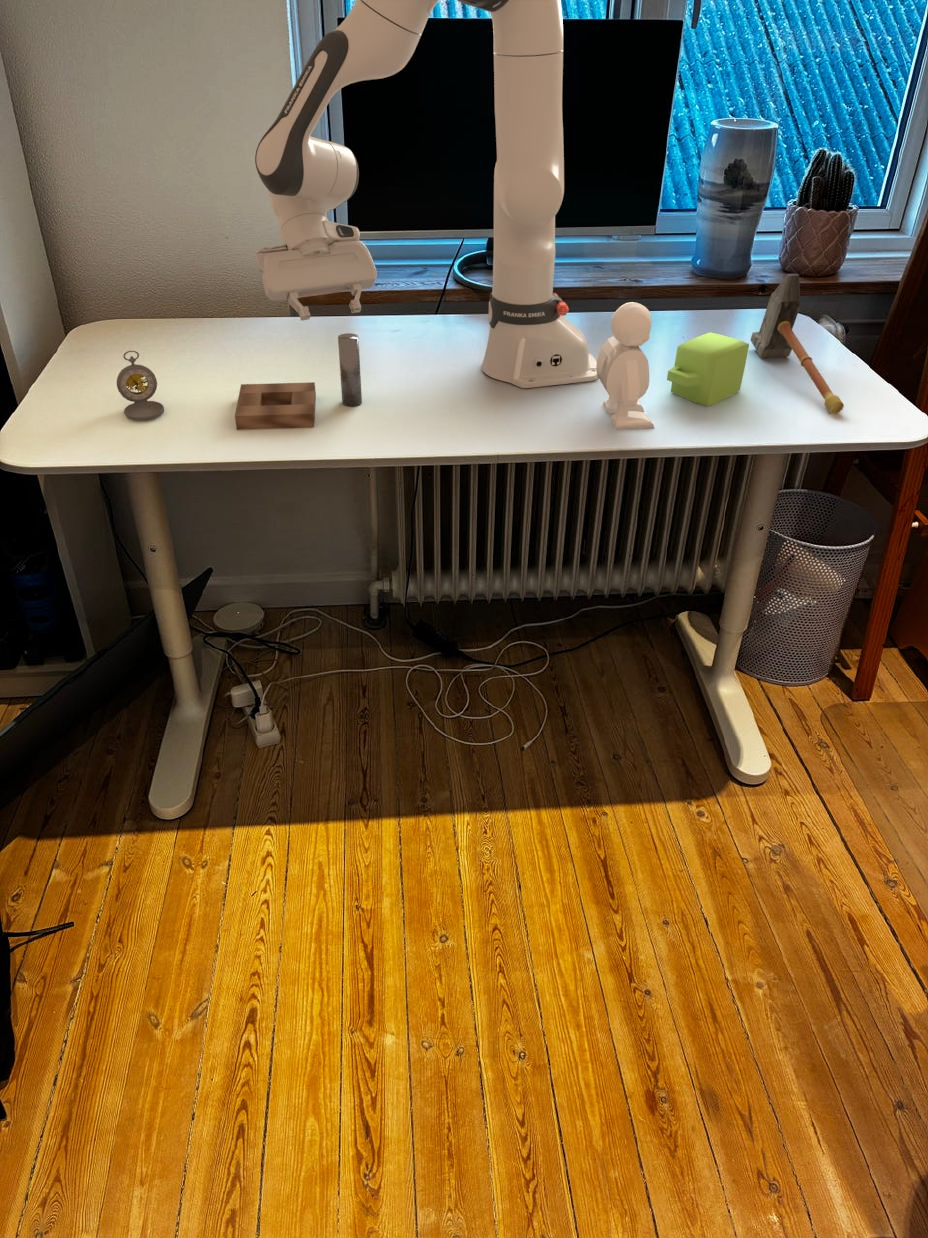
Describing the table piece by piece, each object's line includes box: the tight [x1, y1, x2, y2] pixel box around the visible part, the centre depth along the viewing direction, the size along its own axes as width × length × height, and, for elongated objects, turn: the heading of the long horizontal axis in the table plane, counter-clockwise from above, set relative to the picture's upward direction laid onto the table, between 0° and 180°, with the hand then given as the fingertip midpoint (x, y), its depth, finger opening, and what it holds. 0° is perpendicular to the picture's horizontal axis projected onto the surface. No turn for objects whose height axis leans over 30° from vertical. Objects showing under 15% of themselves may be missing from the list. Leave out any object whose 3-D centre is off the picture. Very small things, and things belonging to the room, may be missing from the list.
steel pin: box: [337, 332, 363, 408], centre depth 166 cm, size 4×4×12 cm
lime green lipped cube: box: [666, 332, 750, 407], centre depth 174 cm, size 18×10×10 cm, turn 135°
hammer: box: [750, 273, 845, 415], centre depth 178 cm, size 6×16×31 cm
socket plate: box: [234, 381, 317, 431], centre depth 166 cm, size 13×13×2 cm
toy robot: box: [596, 301, 655, 430], centre depth 161 cm, size 14×9×20 cm, turn 7°
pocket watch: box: [116, 350, 165, 421], centre depth 163 cm, size 8×8×10 cm
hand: (331, 314), depth 168 cm, fingers open, 8 cm apart
